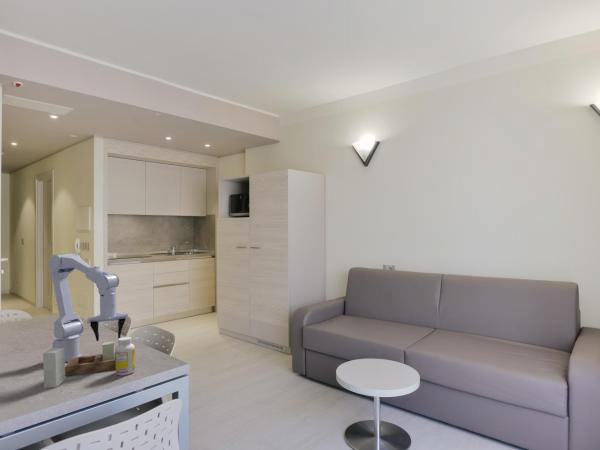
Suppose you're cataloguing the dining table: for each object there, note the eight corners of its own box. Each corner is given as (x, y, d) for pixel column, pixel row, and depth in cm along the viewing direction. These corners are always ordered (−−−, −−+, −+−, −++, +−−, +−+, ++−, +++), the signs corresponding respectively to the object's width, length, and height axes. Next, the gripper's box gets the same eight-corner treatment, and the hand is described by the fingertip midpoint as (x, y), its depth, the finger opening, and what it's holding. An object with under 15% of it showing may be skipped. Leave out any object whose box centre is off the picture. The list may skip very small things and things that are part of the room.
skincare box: (53, 381, 136) (52, 347, 136) (65, 380, 137) (65, 347, 137) (43, 388, 130) (42, 353, 130) (56, 387, 131) (55, 352, 131)
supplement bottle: (129, 368, 148) (129, 334, 148) (138, 371, 144) (137, 337, 144) (112, 373, 143) (111, 339, 143) (120, 377, 139) (120, 342, 139)
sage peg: (102, 365, 149) (102, 345, 149) (103, 362, 153) (103, 342, 153) (114, 364, 151) (113, 343, 151) (114, 361, 154) (114, 341, 154)
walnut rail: (65, 375, 141) (65, 366, 141) (70, 366, 151) (70, 357, 151) (124, 367, 149) (124, 359, 149) (126, 358, 159) (126, 350, 159)
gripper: (85, 308, 145) (86, 344, 145) (127, 305, 151) (128, 339, 151) (88, 305, 152) (88, 339, 152) (128, 302, 157) (128, 335, 157)
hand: (108, 339), depth 152 cm, fingers open, 7 cm apart
